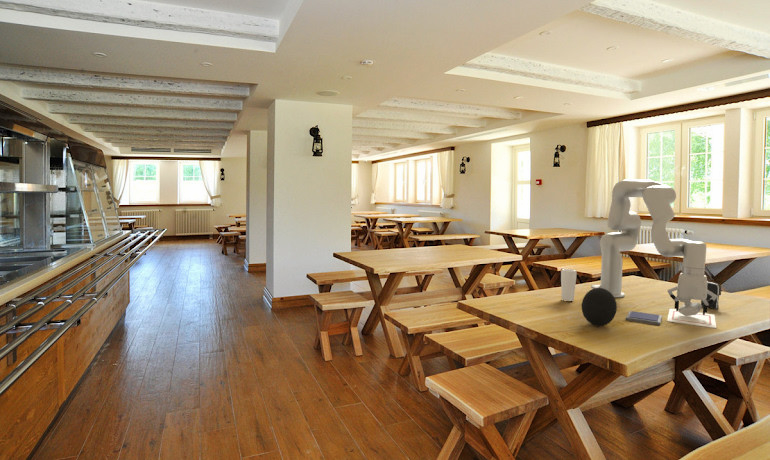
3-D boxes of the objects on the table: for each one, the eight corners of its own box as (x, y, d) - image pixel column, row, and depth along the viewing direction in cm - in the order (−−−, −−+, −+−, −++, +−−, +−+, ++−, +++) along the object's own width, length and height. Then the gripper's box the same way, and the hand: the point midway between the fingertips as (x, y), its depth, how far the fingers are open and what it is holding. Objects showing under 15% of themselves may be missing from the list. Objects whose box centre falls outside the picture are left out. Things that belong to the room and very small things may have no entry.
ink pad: (625, 320, 181) (625, 316, 181) (629, 313, 191) (629, 310, 191) (660, 325, 175) (660, 321, 174) (661, 318, 184) (662, 314, 184)
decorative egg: (582, 319, 183) (584, 283, 182) (616, 323, 177) (618, 286, 175) (579, 327, 172) (580, 289, 171) (614, 332, 166) (616, 293, 165)
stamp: (707, 310, 183) (699, 290, 184) (701, 315, 179) (693, 295, 180) (683, 313, 190) (676, 294, 191) (678, 318, 186) (670, 299, 187)
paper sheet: (667, 321, 180) (667, 320, 180) (669, 309, 198) (669, 308, 198) (716, 328, 171) (716, 327, 171) (714, 315, 189) (714, 314, 189)
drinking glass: (557, 299, 216) (558, 268, 215) (570, 298, 217) (572, 268, 215) (564, 302, 210) (565, 271, 208) (578, 302, 210) (579, 271, 209)
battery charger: (721, 308, 199) (723, 283, 198) (715, 309, 198) (717, 284, 197) (705, 304, 206) (707, 280, 204) (699, 305, 204) (701, 281, 203)
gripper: (667, 270, 185) (665, 310, 186) (720, 275, 175) (716, 318, 176) (668, 267, 191) (666, 307, 192) (719, 272, 181) (716, 313, 182)
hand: (690, 312), depth 184 cm, fingers closed on stamp, 8 cm apart
